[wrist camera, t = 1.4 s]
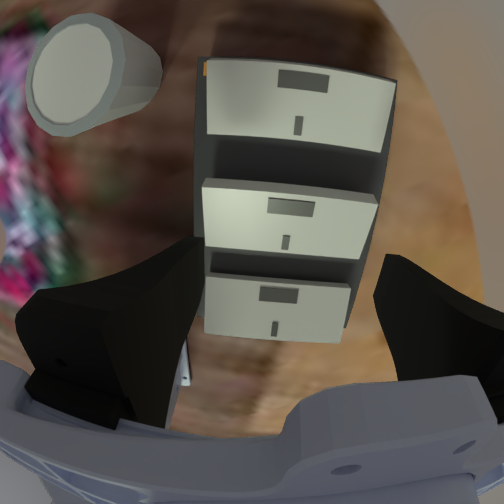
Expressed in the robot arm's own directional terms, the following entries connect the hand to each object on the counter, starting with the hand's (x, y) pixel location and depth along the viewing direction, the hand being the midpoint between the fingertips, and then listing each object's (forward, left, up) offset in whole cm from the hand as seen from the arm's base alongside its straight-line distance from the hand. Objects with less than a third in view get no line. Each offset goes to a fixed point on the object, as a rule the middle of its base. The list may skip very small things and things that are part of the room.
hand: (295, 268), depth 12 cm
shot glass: (+8, +12, -10) cm, 17 cm away
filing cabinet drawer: (0, 0, -6) cm, 6 cm away
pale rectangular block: (-7, 0, -6) cm, 9 cm away
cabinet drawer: (+6, 0, -6) cm, 9 cm away
